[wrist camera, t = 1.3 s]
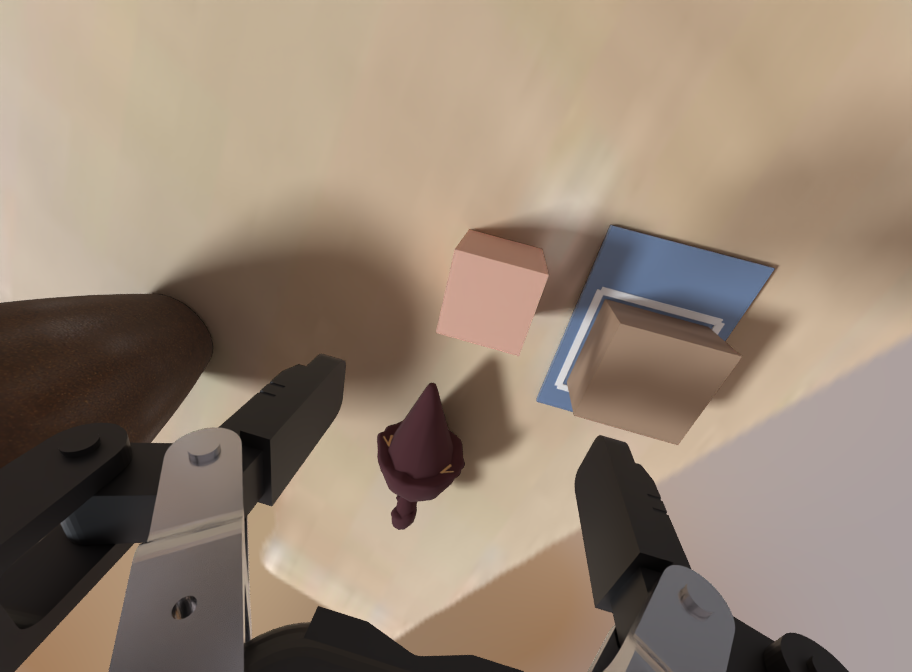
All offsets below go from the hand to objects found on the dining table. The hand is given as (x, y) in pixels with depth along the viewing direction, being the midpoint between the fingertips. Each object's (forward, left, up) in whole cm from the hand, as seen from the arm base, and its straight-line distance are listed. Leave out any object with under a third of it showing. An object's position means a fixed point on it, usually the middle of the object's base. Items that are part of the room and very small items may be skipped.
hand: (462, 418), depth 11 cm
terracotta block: (0, 0, -15) cm, 15 cm away
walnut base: (+3, +11, -15) cm, 19 cm away
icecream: (+15, -2, -16) cm, 22 cm away
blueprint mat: (+2, +11, -15) cm, 19 cm away
